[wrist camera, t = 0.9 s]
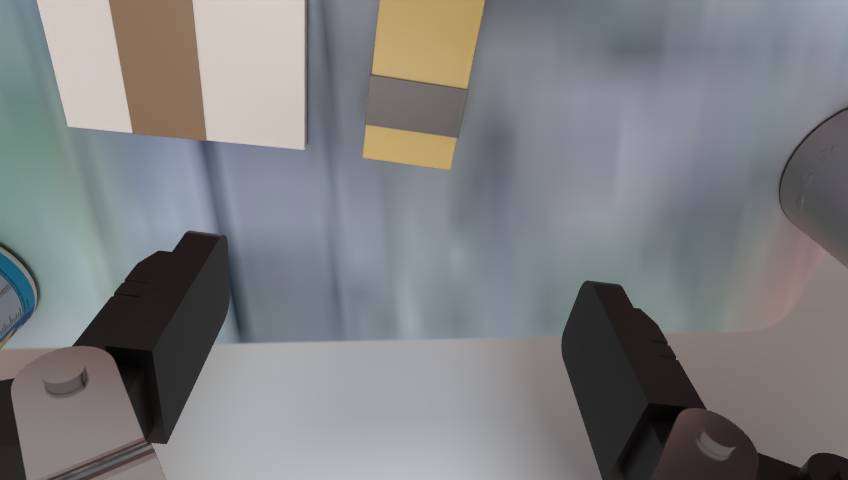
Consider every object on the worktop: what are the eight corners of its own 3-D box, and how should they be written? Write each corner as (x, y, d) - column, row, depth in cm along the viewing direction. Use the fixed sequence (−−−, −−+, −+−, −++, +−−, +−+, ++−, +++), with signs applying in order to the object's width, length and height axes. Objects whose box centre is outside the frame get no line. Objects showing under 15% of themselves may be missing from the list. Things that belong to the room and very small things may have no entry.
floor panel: (307, -94, 25) (304, -94, 24) (306, 144, 31) (304, 150, 31) (14, -135, 24) (1, -136, 23) (75, 121, 30) (67, 127, 29)
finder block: (477, -34, 27) (491, -22, 22) (444, 134, 31) (451, 171, 27) (386, -50, 26) (383, -42, 22) (367, 123, 31) (361, 158, 27)
